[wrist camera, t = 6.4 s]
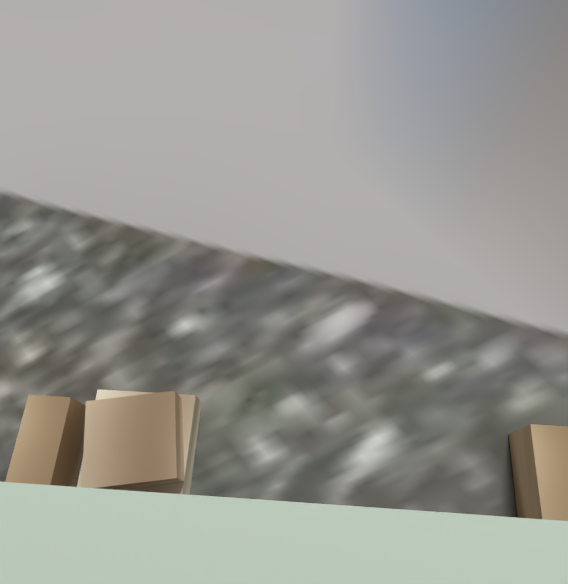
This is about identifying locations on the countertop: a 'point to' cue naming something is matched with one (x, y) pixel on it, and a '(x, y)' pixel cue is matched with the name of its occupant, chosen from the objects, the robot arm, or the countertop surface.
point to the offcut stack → (140, 441)
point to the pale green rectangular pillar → (261, 541)
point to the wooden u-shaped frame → (70, 443)
